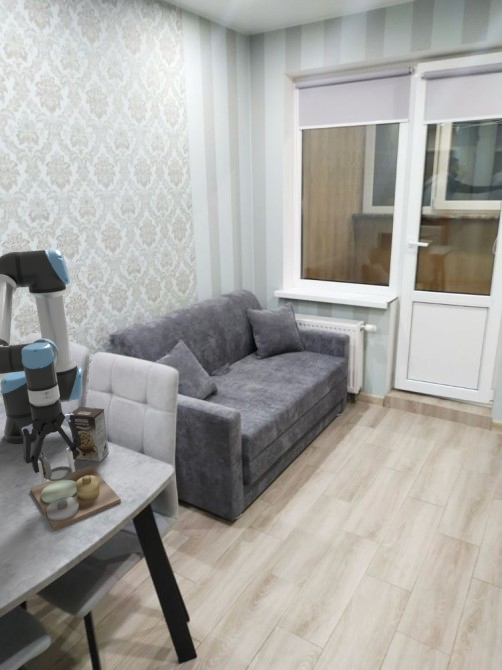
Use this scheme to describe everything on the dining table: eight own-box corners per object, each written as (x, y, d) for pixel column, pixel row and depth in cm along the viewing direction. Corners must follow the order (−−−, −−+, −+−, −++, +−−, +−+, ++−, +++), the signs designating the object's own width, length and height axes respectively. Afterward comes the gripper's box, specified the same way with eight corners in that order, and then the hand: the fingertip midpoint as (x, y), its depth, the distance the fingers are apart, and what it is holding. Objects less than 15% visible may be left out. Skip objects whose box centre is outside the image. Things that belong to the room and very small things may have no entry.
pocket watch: (76, 470, 136) (72, 438, 133) (59, 487, 128) (54, 454, 125) (50, 467, 137) (45, 436, 135) (32, 484, 130) (27, 451, 127)
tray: (30, 491, 138) (27, 472, 136) (91, 468, 148) (89, 450, 147) (54, 530, 121) (50, 509, 119) (120, 501, 132) (118, 482, 130)
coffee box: (74, 459, 153) (67, 414, 149) (85, 449, 159) (79, 405, 155) (99, 462, 151) (93, 416, 147) (109, 452, 157) (104, 407, 153)
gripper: (6, 417, 118) (21, 496, 124) (88, 394, 130) (97, 467, 136) (0, 407, 123) (14, 483, 130) (78, 386, 136) (88, 457, 142)
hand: (57, 475), depth 133 cm, fingers closed on pocket watch, 8 cm apart
